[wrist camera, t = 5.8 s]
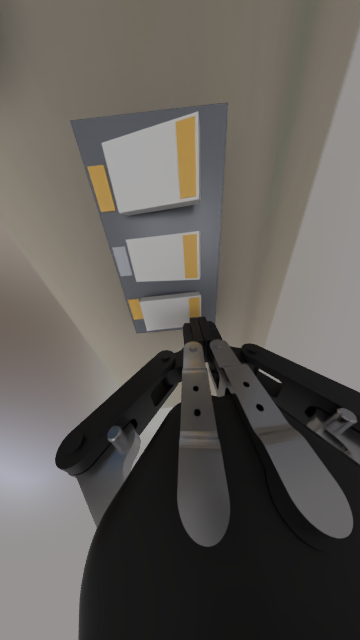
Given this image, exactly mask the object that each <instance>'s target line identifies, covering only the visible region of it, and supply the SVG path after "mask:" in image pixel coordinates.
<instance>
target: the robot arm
mask: <svg viewBox="0 0 360 640" xmlns="http://www.w3.org/2000/svg"><path fill="white" fill-rule="evenodd" d="M189 322H190V323H184V325H183V336H184V347H183V349H182V350H181V351H179V352H177V353H173V352H172V351H169V350H165V351H161V352H159V353H158V354H157V355H156V356H155V357H154V358H152V359H151V360H150V361H149V362H148V363H147V364H146V365H145V366H144V367H142V368H141V369H140V370H139V371H138V372H137V373H136V374H135V375H134V376H132V377H131V378H130V379H129V380H128V381H127V382H126V383H125V384H124V385H122V386H121V387H120V388H119V389H118V390H117V391H116V392H115V393H114V394H112V395H111V396H110V397H109V398H108V399H107V400H106V401H105V402H104V403H103V404H101V405H100V406H99V407H98V408H97V409H96V410H95V411H94V412H92V413H91V414H90V415H89V416H88V417H87V418H86V419H85V420H84V421H82V422H81V423H80V424H79V425H78V426H77V427H76V428H75V429H74V430H72V431H71V432H70V433H69V434H68V435H67V436H66V438H65V439H64V440H63V441H62V443H61V445H60V446H59V448H58V451H57V454H56V458H55V462H56V466H57V467H58V468H60V469H61V470H64V471H66V472H67V473H68V474H69V475H71V476H73V477H75V478H77V480H78V482H79V485H80V488H81V490H82V492H83V495H84V497H85V500H86V502H87V505H88V507H89V510H90V512H91V514H92V517H93V519H94V522H95V524H96V527H97V530H96V532H95V535H94V538H93V540H92V543H91V546H90V549H89V552H88V556H87V560H86V564H85V568H84V573H83V579H82V585H81V593H80V606H79V640H360V393H359V392H357V391H355V390H353V389H351V388H349V387H346V386H344V385H342V384H340V383H338V382H335V381H333V380H331V379H328V378H327V377H325V376H323V375H320V374H318V373H316V372H314V371H312V370H309V369H307V368H305V367H303V366H301V365H298V364H296V363H294V362H292V361H290V360H288V359H286V358H283V357H281V356H279V355H277V354H275V353H273V352H270V351H268V350H266V349H264V348H262V347H260V346H257V345H255V344H244V345H243V346H242V348H236V347H231V346H229V344H228V343H227V342H225V341H223V340H222V338H221V336H220V334H219V331H218V329H217V328H216V325H215V324H214V323H213V322H212V321H207V320H206V317H205V316H203V317H192V318H189ZM205 362H208V364H209V373H210V376H211V378H212V381H213V384H214V387H215V390H216V393H217V396H212V395H211V391H210V385H209V378H208V372H207V368H206V367H205ZM259 369H261V370H263V371H264V372H266V373H268V374H270V375H271V376H273V377H275V378H277V379H279V380H280V381H281V382H282V383H278V382H276V381H275V380H273V379H271V378H270V377H268V376H266V375H264V374H263V373H261V372H259ZM181 381H182V394H181V403H179V404H177V405H176V406H175V407H174V408H173V409H172V410H171V411H170V412H169V413H168V415H167V416H166V418H165V419H164V421H163V422H162V424H161V425H160V427H159V429H158V430H157V432H156V433H155V435H154V436H153V438H152V440H151V441H150V443H149V444H148V446H147V447H146V449H145V450H144V452H143V453H142V455H141V456H140V458H139V460H138V461H137V463H136V464H135V466H134V467H133V469H132V471H131V467H132V464H133V462H134V460H135V458H136V456H137V454H138V452H139V449H140V437H139V435H140V434H141V433H142V431H143V430H144V429H145V428H146V426H147V425H148V423H149V422H150V421H151V419H152V418H153V417H154V416H155V414H156V413H157V411H158V410H159V409H160V408H161V406H162V405H163V404H164V402H165V401H166V400H167V398H168V397H169V396H170V394H171V393H172V392H173V390H174V389H175V388H176V387H177V385H178V383H179V382H181Z"/></svg>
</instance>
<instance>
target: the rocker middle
mask: <svg viewBox="0 0 360 640" xmlns="http://www.w3.org/2000/svg"><path fill="white" fill-rule="evenodd" d="M126 243H127V247H128V251H129V255H130V259H131V263H132V267H133V271H134V275H135V279H136V282H146V281H174V280H200V277H201V232H200V231H194V232H186V233H178V234H169V235H161V236H153V237H144V238H136V239H128V240H126Z"/></svg>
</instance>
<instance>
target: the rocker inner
mask: <svg viewBox="0 0 360 640" xmlns="http://www.w3.org/2000/svg"><path fill="white" fill-rule="evenodd" d="M102 147H103V151H104V155H105V159H106V163H107V167H108V171H109V175H110V179H111V183H112V187H113V191H114V195H115V199H116V203H117V207H118V211H119V213H120V214H123V215H127V216H130V215H136V214H142V213H148V212H154V211H160V210H166V209H172V208H178V207H184V206H190V205H196V204H200V123H199V114H198V112H194V113H191V114H188V115H185V116H182V117H179V118H176V119H173V120H170V121H167V122H164V123H161V124H158V125H155V126H152V127H149V128H145V129H142V130H139V131H136V132H133V133H130V134H127V135H124V136H121V137H118V138H115V139H112V140H109V141H106V142H103V143H102Z"/></svg>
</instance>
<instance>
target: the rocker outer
mask: <svg viewBox="0 0 360 640" xmlns="http://www.w3.org/2000/svg"><path fill="white" fill-rule="evenodd" d="M140 306H141V310H142V314H143V318H144V322H145V326H146V329H147V331H152V330H161V329H170V328H179V327H183V325H184V323H190V322H189V318H192V317H201V294H200V293H199V292H190V293H180V294H171V295H162V296H152V297H143V298H141V300H140Z"/></svg>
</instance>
